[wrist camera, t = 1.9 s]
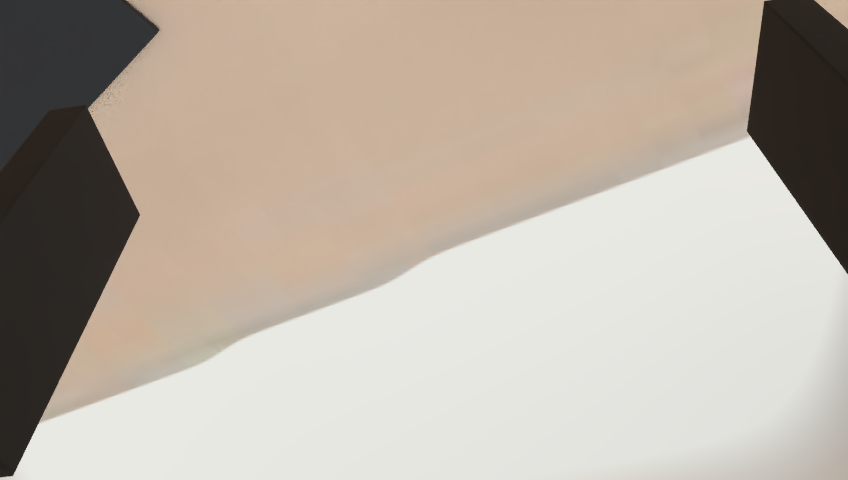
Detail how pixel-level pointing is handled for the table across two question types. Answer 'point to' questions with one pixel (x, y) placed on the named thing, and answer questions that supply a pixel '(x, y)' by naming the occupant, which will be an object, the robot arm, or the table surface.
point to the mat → (60, 58)
